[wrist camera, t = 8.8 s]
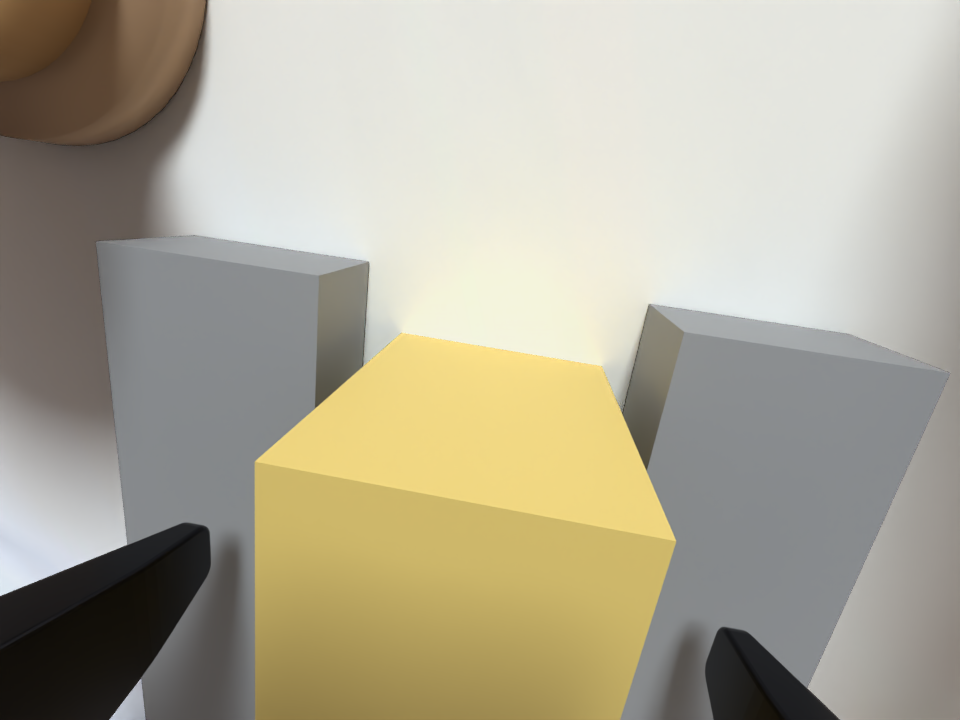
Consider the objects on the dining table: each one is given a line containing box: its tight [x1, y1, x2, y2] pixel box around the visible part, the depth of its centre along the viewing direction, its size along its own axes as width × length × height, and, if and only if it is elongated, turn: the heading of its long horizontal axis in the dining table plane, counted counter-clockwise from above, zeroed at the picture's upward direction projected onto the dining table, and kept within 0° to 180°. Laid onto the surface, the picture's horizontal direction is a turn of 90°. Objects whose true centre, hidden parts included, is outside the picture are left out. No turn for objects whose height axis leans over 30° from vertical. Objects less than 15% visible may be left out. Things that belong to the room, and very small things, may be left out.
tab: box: [255, 333, 676, 720], centre depth 9 cm, size 7×4×6 cm, turn 172°
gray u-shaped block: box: [96, 235, 950, 720], centre depth 11 cm, size 14×12×2 cm
